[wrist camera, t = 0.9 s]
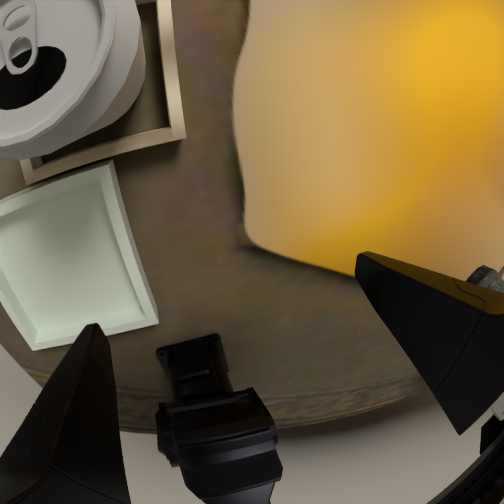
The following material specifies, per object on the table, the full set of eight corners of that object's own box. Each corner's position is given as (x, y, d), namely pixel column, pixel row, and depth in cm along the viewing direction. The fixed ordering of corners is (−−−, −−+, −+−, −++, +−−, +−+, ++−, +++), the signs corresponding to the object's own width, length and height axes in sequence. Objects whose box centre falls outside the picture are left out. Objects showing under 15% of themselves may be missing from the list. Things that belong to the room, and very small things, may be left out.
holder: (183, 135, 18) (186, 138, 16) (36, 177, 15) (26, 185, 14) (167, -9, 12) (169, -20, 11) (16, 38, 10) (5, 33, 8)
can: (51, 146, 15) (-48, 204, 5) (38, 49, 11) (-62, 14, 1) (153, 114, 17) (152, 124, 7) (141, 16, 13) (137, -81, 3)
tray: (157, 307, 24) (158, 323, 22) (37, 335, 21) (32, 350, 19) (112, 158, 17) (108, 164, 15) (-25, 211, 14) (-37, 222, 12)
